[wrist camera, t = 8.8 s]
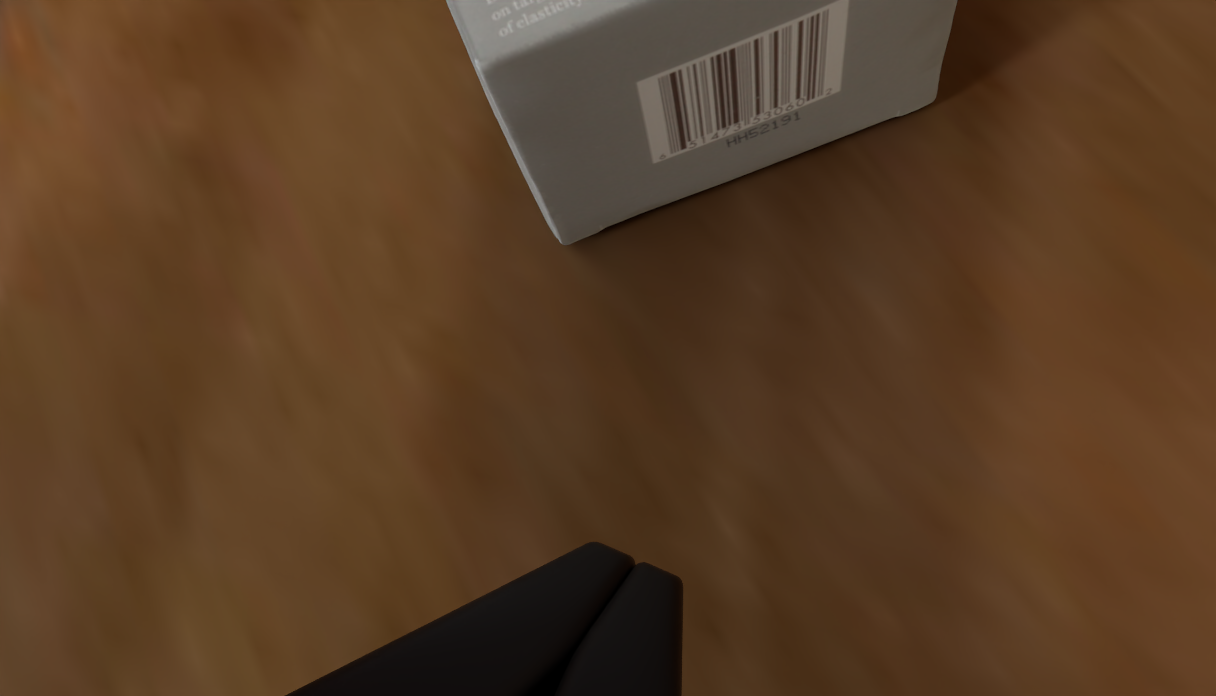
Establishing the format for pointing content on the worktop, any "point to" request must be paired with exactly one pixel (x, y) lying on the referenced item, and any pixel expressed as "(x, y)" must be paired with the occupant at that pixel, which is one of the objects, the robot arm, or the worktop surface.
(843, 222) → the worktop surface
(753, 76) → the cosmetic box
